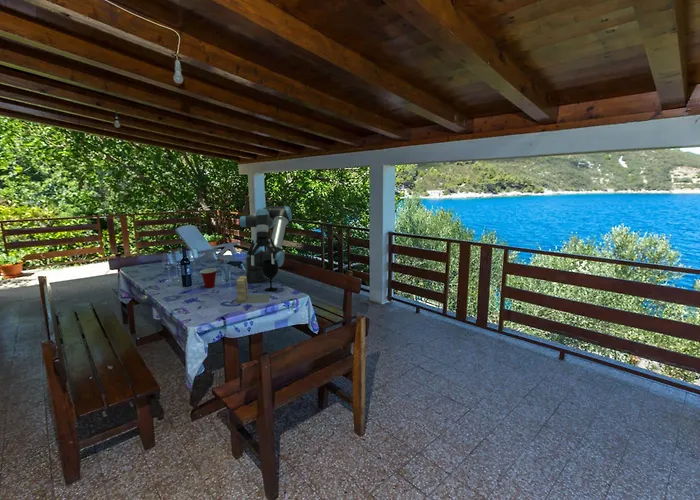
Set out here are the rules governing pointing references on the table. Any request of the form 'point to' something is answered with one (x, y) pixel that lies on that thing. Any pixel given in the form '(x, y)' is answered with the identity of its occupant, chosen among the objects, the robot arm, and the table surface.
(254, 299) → the rubber mat
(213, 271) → the plastic cup
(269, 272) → the wine glass
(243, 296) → the oak board
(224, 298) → the table surface
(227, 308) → the table surface
